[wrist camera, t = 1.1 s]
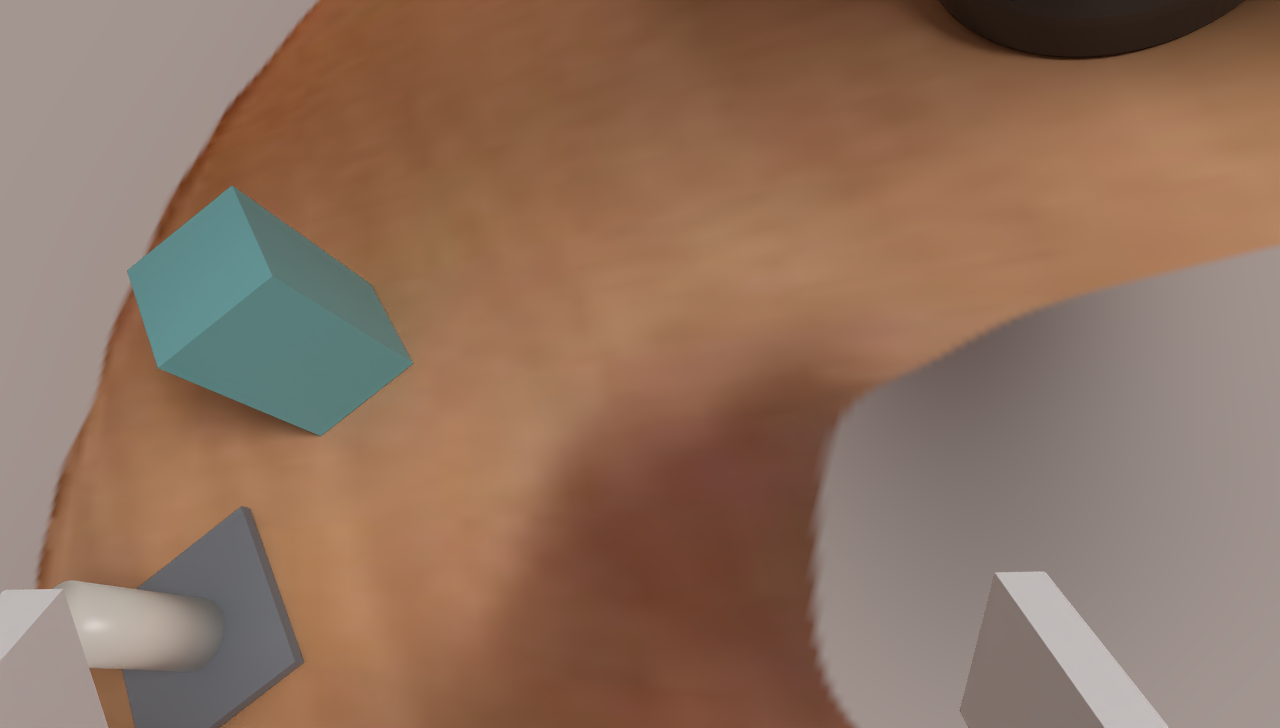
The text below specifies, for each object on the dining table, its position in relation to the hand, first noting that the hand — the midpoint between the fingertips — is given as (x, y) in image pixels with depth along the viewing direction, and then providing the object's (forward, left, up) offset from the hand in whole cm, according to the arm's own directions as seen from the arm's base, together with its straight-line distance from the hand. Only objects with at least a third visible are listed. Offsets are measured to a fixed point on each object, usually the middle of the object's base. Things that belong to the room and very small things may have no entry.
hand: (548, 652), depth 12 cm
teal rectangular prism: (-11, -26, -21) cm, 35 cm away
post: (+4, -29, -21) cm, 36 cm away
